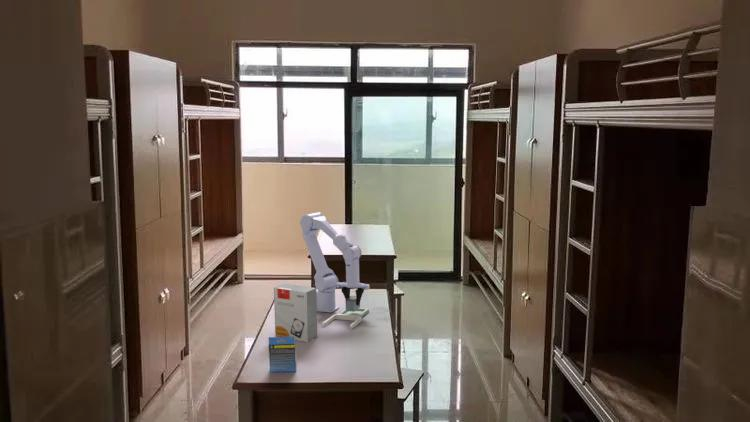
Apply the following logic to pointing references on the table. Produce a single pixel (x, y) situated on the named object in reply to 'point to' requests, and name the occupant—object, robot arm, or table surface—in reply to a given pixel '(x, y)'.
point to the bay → (344, 317)
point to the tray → (356, 312)
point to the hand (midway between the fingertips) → (353, 304)
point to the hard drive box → (295, 312)
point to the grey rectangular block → (352, 304)
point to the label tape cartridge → (282, 354)
